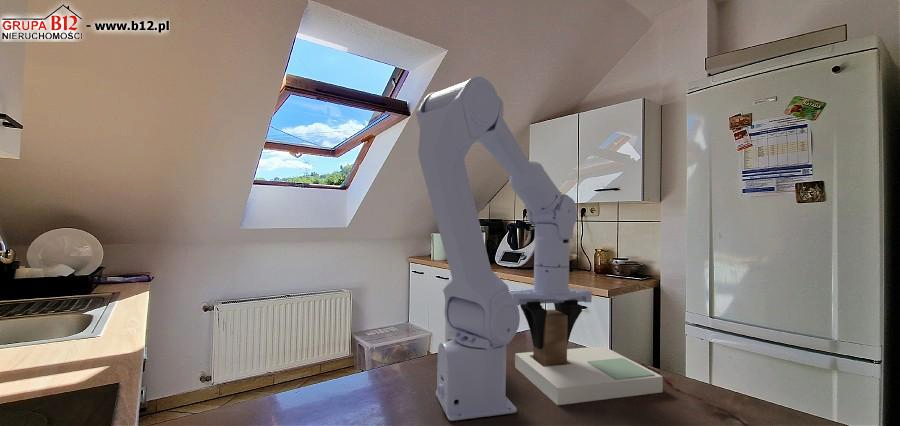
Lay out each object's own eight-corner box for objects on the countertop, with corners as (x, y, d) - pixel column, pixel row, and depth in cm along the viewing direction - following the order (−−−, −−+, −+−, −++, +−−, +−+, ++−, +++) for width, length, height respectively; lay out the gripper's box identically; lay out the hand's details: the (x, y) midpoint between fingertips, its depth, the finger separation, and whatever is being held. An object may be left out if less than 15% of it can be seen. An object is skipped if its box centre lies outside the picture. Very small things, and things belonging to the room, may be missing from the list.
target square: (615, 379, 57) (615, 378, 57) (587, 362, 64) (587, 361, 64) (654, 375, 59) (654, 374, 59) (623, 359, 66) (623, 357, 66)
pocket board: (557, 405, 54) (557, 388, 54) (514, 367, 68) (515, 353, 68) (662, 392, 59) (662, 376, 59) (603, 358, 73) (603, 346, 73)
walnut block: (544, 372, 63) (545, 316, 63) (533, 363, 67) (534, 310, 67) (566, 370, 64) (567, 315, 64) (554, 361, 68) (554, 309, 68)
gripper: (522, 269, 60) (520, 357, 59) (603, 267, 63) (602, 351, 63) (504, 263, 66) (502, 343, 66) (578, 262, 70) (577, 337, 70)
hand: (549, 346), depth 65 cm, fingers closed on walnut block, 4 cm apart
